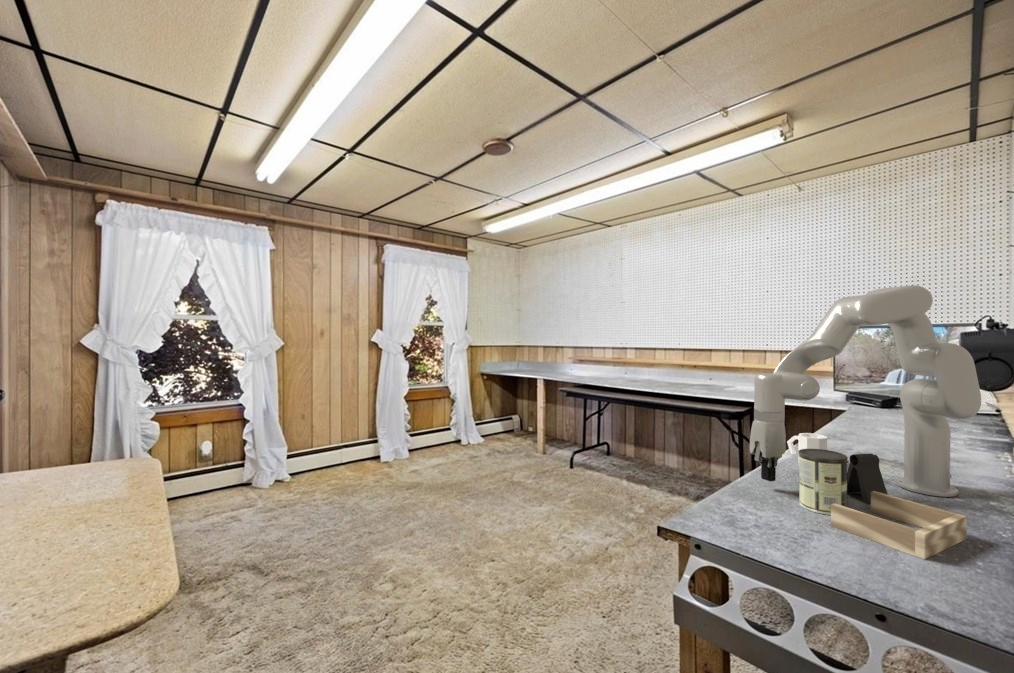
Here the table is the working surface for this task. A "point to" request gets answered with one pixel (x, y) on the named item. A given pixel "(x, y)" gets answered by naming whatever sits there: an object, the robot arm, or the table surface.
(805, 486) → the coffee can
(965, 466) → the table surface
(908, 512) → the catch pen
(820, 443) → the mug
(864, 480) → the phone stand
